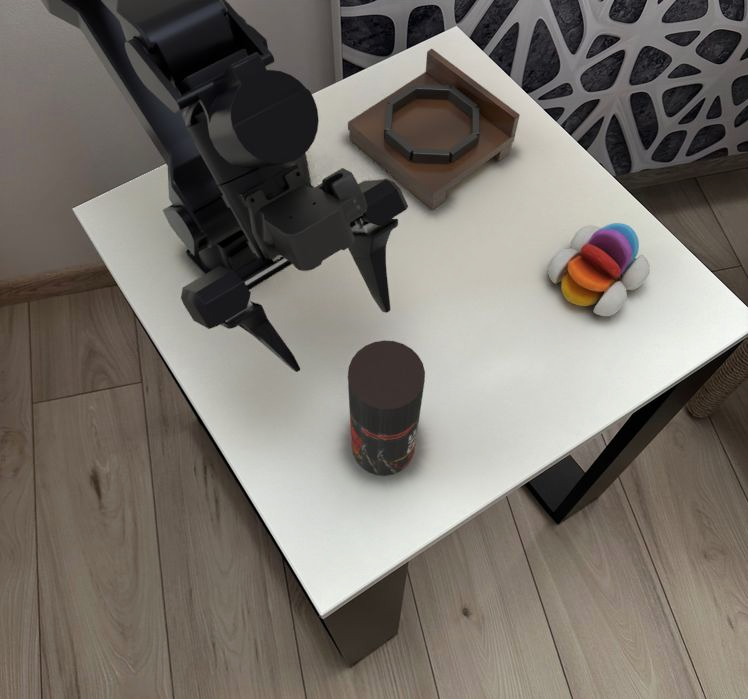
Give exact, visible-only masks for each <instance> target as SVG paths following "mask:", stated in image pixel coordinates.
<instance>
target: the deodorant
mask: <svg viewBox="0 0 748 699" xmlns="http://www.w3.org/2000/svg"><path fill="white" fill-rule="evenodd" d="M347 369H348V370H347V386H348V389H347V390H348V406H349V423H350V424H349V425H350V426H349V427H350V443H351V444H350V445H351V451H352V452H351V453H352V455H353V458H354V459H355V461H356V463H357V464H358V465H359V466H360V467H361V469H363V470H364V471H366V472H368V473H370V474H373V475H375V476H383V477H384V476H391V475H395V474H397V473H399V472H401V471H403V470H404V469H405V468H406V467H407V466H408V465H409V463H410V462H411V461H412V460H413V457H414V454H415V448H416V442H417V436H418V430H419V422H420V415H421V408H422V402H423V395H424V389H425V381H426V371H425V367H424V363H423V361H422V359H421V358H420V356H419V354H417V353H416V351H414V349H412V348H411V347H409V346H407V345H406V344H404V343H402V342H398V341H395V340H383V339H382V340H377V341H373V342H370V343H368V344H366V345H364V346H363V347H361V348H360V349H358V351H356V353H355V355H353V357H352V358H351V360H350V363H349V365H348V368H347Z"/></svg>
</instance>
